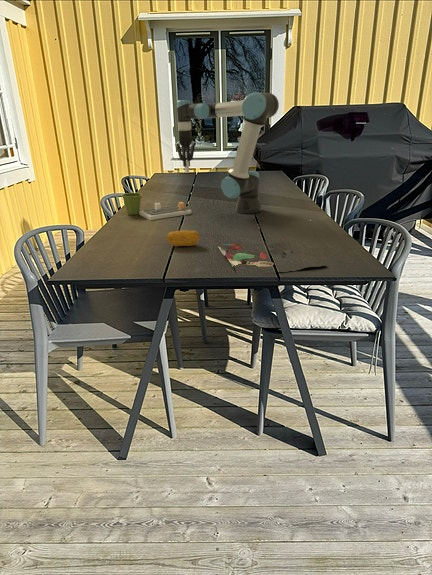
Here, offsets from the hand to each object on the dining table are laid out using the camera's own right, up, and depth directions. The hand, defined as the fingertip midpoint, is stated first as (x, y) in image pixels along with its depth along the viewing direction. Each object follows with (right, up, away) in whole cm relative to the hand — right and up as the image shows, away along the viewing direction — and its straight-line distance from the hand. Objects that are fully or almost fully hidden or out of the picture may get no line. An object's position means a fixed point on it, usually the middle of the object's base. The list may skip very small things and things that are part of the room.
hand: (187, 172), depth 237 cm
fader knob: (-3, -23, -4) cm, 24 cm away
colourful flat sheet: (+39, -57, -74) cm, 102 cm away
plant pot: (-31, -25, -2) cm, 40 cm away
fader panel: (-12, -26, -4) cm, 29 cm away
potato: (+3, -51, -59) cm, 78 cm away
